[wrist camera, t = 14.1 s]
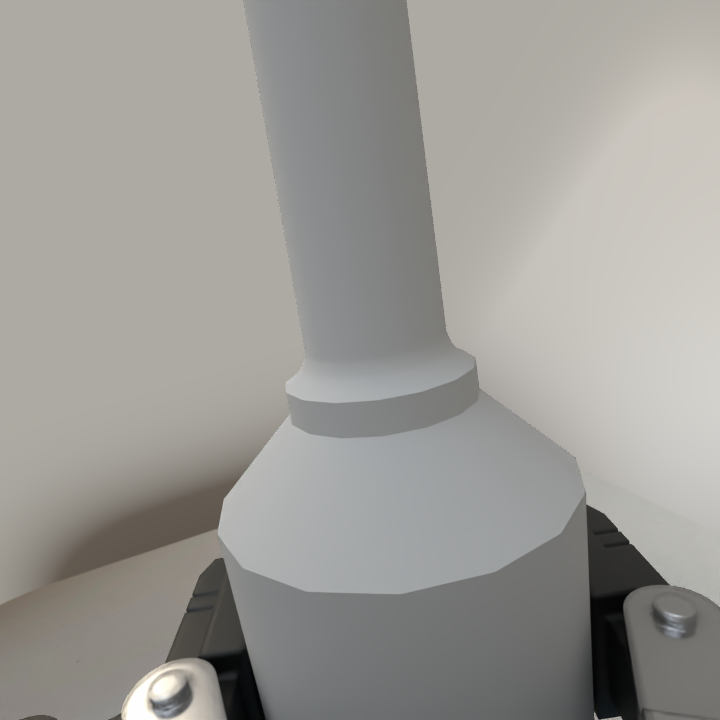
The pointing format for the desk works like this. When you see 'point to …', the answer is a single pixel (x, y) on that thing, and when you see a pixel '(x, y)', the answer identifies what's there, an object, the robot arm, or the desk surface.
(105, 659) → the desk surface
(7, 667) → the desk surface
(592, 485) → the desk surface
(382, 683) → the bottle
